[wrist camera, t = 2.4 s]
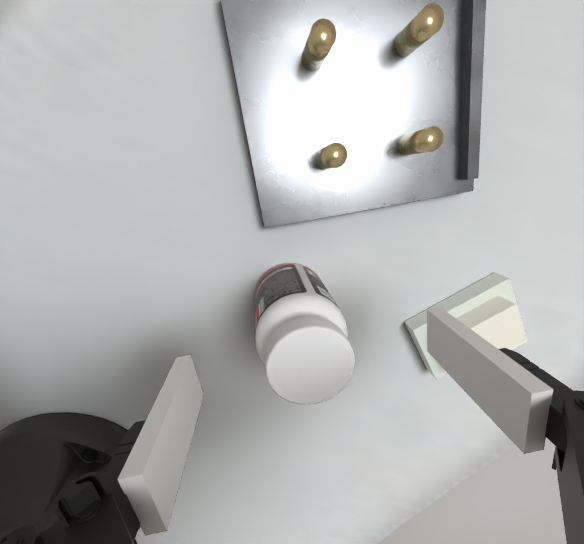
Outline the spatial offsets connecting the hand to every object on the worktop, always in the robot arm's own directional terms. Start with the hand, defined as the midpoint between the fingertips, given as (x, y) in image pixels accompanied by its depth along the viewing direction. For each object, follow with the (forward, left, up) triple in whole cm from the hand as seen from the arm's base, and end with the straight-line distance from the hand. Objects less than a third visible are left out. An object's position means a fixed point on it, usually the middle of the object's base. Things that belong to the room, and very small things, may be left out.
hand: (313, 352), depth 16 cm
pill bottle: (0, 0, -9) cm, 9 cm away
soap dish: (+15, -6, -9) cm, 18 cm away
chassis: (+7, +13, -9) cm, 17 cm away
